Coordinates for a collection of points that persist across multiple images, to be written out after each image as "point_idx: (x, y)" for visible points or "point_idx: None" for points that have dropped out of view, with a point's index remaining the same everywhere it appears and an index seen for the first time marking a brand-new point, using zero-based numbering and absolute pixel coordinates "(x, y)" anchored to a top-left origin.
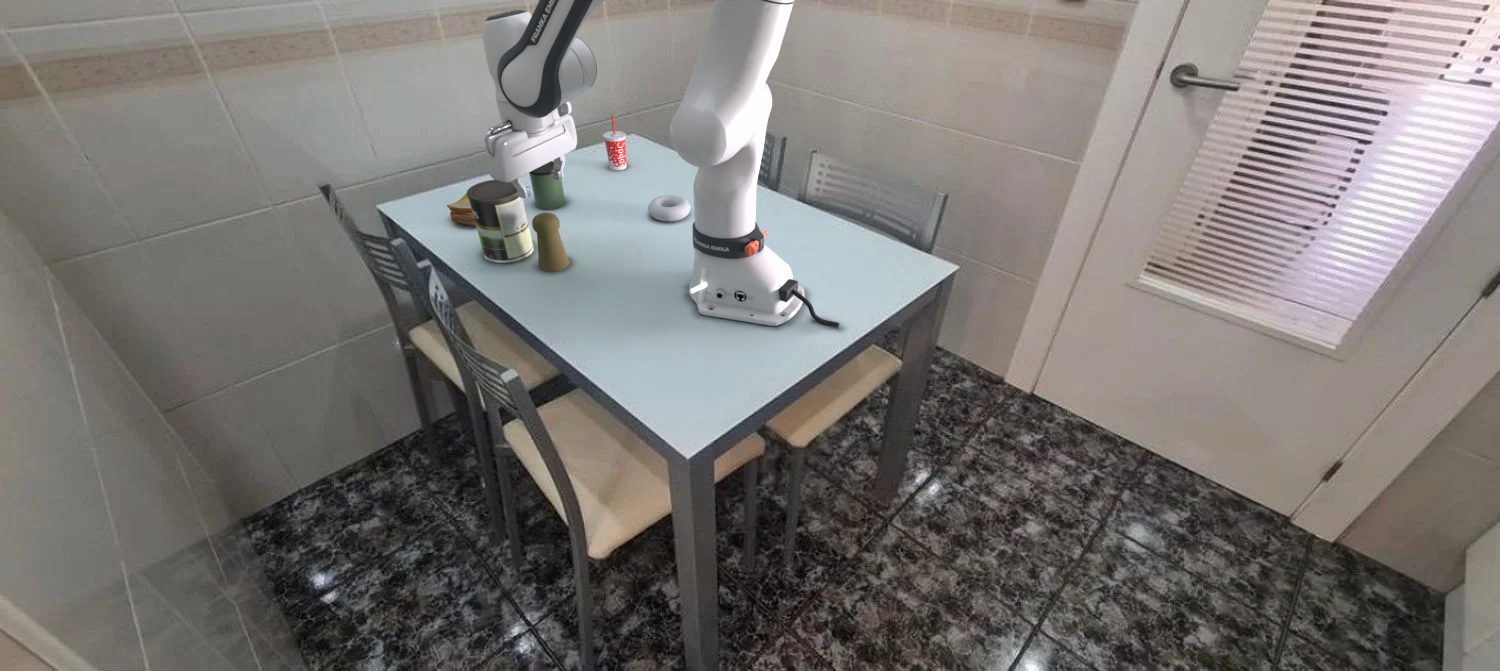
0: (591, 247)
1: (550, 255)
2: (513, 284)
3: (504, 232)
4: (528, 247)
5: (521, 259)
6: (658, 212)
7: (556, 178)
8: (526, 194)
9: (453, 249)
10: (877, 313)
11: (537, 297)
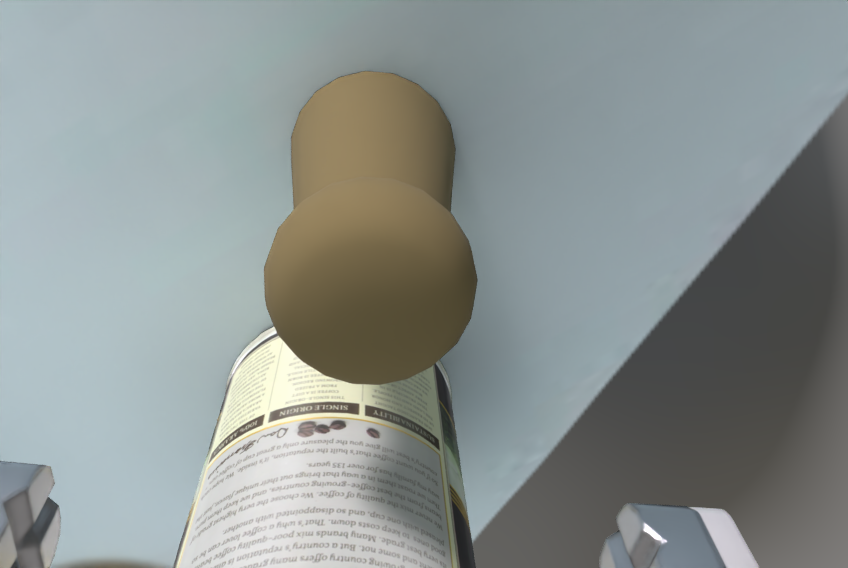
0: (99, 46)
1: (444, 155)
2: (605, 235)
3: (438, 460)
4: None
5: None
6: None
7: (41, 507)
8: (725, 540)
9: None
10: None
11: (708, 57)
